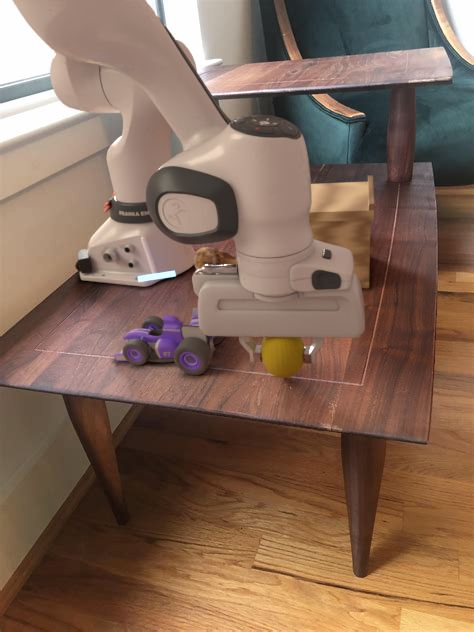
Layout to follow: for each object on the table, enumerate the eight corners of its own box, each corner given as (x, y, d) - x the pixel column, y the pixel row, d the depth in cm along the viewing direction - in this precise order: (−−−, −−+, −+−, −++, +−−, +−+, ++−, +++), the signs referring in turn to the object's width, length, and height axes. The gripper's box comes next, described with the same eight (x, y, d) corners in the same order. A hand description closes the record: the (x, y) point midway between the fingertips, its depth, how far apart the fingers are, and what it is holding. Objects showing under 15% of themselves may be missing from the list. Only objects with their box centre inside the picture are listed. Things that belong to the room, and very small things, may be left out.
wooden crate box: (280, 290, 91) (273, 207, 84) (288, 255, 102) (283, 179, 94) (372, 290, 88) (374, 203, 80) (371, 254, 99) (372, 175, 91)
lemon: (271, 361, 75) (266, 312, 70) (311, 367, 73) (308, 316, 68) (258, 387, 70) (251, 335, 66) (299, 393, 68) (295, 341, 64)
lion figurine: (199, 305, 90) (190, 256, 85) (201, 289, 94) (193, 242, 90) (288, 297, 89) (284, 247, 84) (286, 281, 93) (282, 233, 89)
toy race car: (139, 330, 85) (130, 294, 82) (230, 337, 81) (225, 299, 77) (110, 367, 78) (99, 329, 74) (209, 377, 73) (202, 337, 70)
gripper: (182, 277, 62) (200, 373, 70) (365, 276, 58) (364, 378, 65) (196, 253, 68) (211, 344, 75) (365, 250, 63) (364, 347, 70)
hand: (283, 360), depth 70 cm, fingers closed on lemon, 5 cm apart
